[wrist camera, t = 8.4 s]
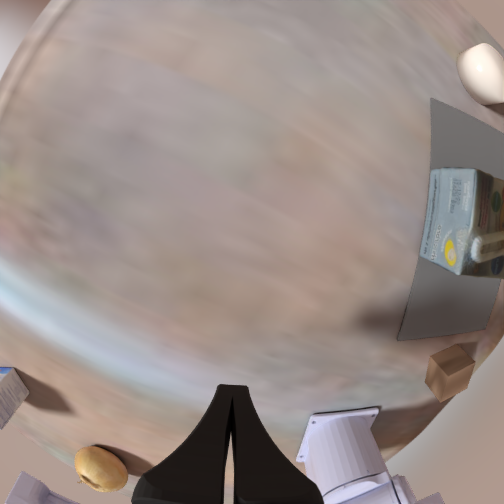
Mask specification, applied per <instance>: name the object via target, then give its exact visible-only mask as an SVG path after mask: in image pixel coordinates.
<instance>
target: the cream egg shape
mask: <svg viewBox="0 0 504 504" xmlns="http://www.w3.org/2000/svg"><path fill="white" fill-rule="evenodd" d="M456 64H457V70H458V74H459V77H460V79H461V81H462V83H463V85H464V87H465V89H466V90H467V92H468V93H469V94H470V96H471V97H472V98H473V99H474V100H475V101H476V102H478V103H479V104H481V105H491V104H497V103H503V102H504V59H503V58H502V56H501V55H500V54H499V53H498V52H497V51H496V50H495V49H494V48H493V47H492V46H490V45H488V44H486V43H482V44H479V45H477V46H475V47H472V48H470V49H468V50H465V51H463V52H461V53H459V55H458V56H457V63H456Z"/></svg>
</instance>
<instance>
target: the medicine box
mask: <svg viewBox="0 0 504 504" xmlns="http://www.w3.org/2000/svg"><path fill="white" fill-rule="evenodd" d="M28 394H29V391H28V389H27V388H26V386H25V385H24V383H23V381H22V380H21V378H20V377H19V375H18V374H17V372H16V371H15V369H14V368H4V367H0V429H1V430H2V429H3V428H4V427H5V425H6V424H7V423H8V421H9V420H10V419H11V417H12V416H13V414H14V413H15V412H16V410H17V409H18V408H19V406H20V405H21V404H22V402H23V401H24V400H25V398H26V397H27V396H28Z"/></svg>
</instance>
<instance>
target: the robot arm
mask: <svg viewBox="0 0 504 504" xmlns="http://www.w3.org/2000/svg"><path fill="white" fill-rule="evenodd" d="M378 412H379V410H378V408H369V409H362V410H355V411H346V412H337V413H326V414H314V415H312V416H311V417H310V419H309V422H308V425H307V429H306V432H305V435H304V438H303V441H302V443H301V446H300V449H299V452H298V455H297V458H296V461H297V462H304V463H305V468H306V473H307V477H306V476H305V475H304V474H303V473H302V472H301V471H299V470H298V469H297V468H296V467H295V466H294V465H293V464H292V463H291V462H290V461H289V460H288V459H287V458H286V457H285V455H284V454H283V453H282V452H281V451H280V450H279V448H278V447H277V446H276V445H275V443H274V442H273V440H272V439H271V437H270V436H269V434H268V433H267V431H266V430H265V428H264V426H263V424H262V423H261V421H260V419H259V417H258V415H257V412H256V410H255V408H254V405H253V403H252V400H251V397H250V394H249V389H248V387H247V386H244V385H225V384H220V385H218V386H217V390H216V393H215V395H214V397H213V400H212V402H211V404H210V405H209V407H208V409H207V411H206V413H205V414H204V416H203V417H202V419H201V420H200V422H199V423H198V425H197V426H196V428H195V429H194V430H193V431H192V433H191V434H190V435H189V436H188V437H187V439H186V440H185V441H184V442H183V443H182V444H181V445H180V446H179V447H178V448H177V449H176V450H175V451H174V452H173V453H172V454H170V455H169V456H168V457H167V458H166V459H164V460H163V461H162V462H161V463H159V464H158V465H156V466H155V467H153V468H152V469H150V470H149V471H147V472H146V473H144V474H143V475H142V476H141V478H140V479H139V481H138V483H137V485H136V487H135V489H134V492H133V496H132V500H131V502H132V504H224V481H225V467H226V460H227V454H228V448H229V441H230V435H231V436H232V449H233V461H234V504H445V503H444V501H443V499H442V497H441V495H440V493H435V494H433V495H431V496H428V497H426V498H424V499H421V500H419V501H417V500H416V498H415V495H414V493H413V491H412V489H411V487H410V485H409V483H408V481H407V479H406V478H405V476H399V475H398V474H397V475H396V476H394V477H391V476H390V474H389V472H388V469H387V467H386V465H385V462H384V460H383V458H382V455H381V453H380V451H379V448H378V446H377V444H376V441H375V439H374V437H373V435H372V432H371V430H370V428H371V426H372V424H373V422H374V420H375V418H376V416H377V414H378ZM5 504H79V503H77V502H74V501H72V500H70V499H68V498H65V497H63V496H61V495H59V494H57V493H55V492H53V491H51V490H49V488H48V487H47V486H46V485H45V484H44V483H43V482H41V481H40V480H38V479H36V478H34V477H33V476H31V475H29V474H28V473H26V472H24V471H21V473H20V475H19V476H18V478H17V480H16V482H15V484H14V486H13V488H12V489H11V491H10V493H9V495H8V497H7V499H6V501H5Z"/></svg>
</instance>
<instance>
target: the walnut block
mask: <svg viewBox="0 0 504 504" xmlns="http://www.w3.org/2000/svg"><path fill="white" fill-rule="evenodd" d="M474 365H475V361H474V360H473V359H472V358H471V357H470V356H469V355H468V354H467V353H466V352H465V351H464V350H463V349H461V348H460V347H459V346H458V345H457V344H455V345H453V346H451V347H449V348H447V349H445V350H443V351H440V352H438V353H436V354H434V355H431V356H430V359H429V364H428V369H427V374H426V379H425V383H426V384H427V385H428V387H429V388H430V389H431V391H432V392H433V393H434V395H435V396H436V397H437V399H438V400H439V401H440V403H441V402H443V401H445V400H446V399H448V398H450V397H452V396H454V395H456V394H458V393H460V392H461V391H463V390H465V389H467V387H468V384H469V381H470V378H471V375H472V372H473V368H474Z"/></svg>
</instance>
